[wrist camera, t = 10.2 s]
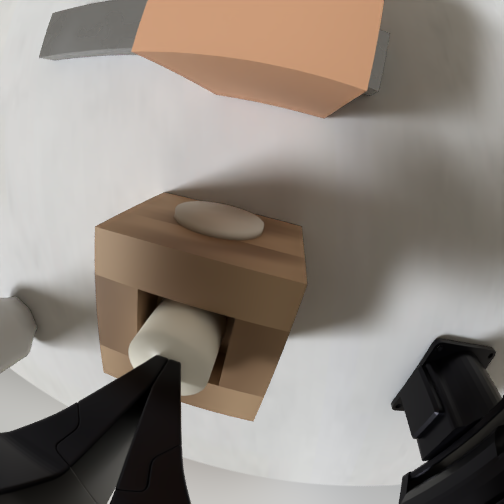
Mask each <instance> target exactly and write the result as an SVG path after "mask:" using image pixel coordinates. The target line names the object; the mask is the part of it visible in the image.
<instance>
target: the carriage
mask: <svg viewBox="0 0 504 504" xmlns="http://www.w3.org/2000/svg"><path fill="white" fill-rule="evenodd" d="M383 5H384V0H148V1H147V4H146V6H145V9H144V12H143V15H142V18H141V21H140V24H139V27H138V30H137V34H136V37H135V40H134V44H133V47H132V51H131V52H133V53H135V54H138V55H140V56H142V57H144V58H146V59H148V60H151V61H153V62H155V63H157V64H159V65H161V66H163V67H165V68H167V69H169V70H171V71H173V72H175V73H177V74H179V75H181V76H183V77H185V78H187V79H189V80H190V81H192V82H194V83H196V84H198V85H200V86H201V87H203V88H205V89H207V90H209V91H210V92H212V93H214V94H216V95H222V96H228V97H234V98H239V99H245V100H250V101H255V102H260V103H264V104H269V105H274V106H278V107H282V108H286V109H290V110H294V111H298V112H302V113H306V114H310V115H313V116H317V117H320V118H326V117H327V116H329V115H330V114H332V113H333V112H335V111H336V110H338V109H339V108H341V107H342V106H344V105H346V104H347V103H349V102H350V101H352V100H353V99H355V98H357V97H358V96H360V95H361V94H363V93H364V92H366V91H367V89H368V84H369V79H370V75H371V70H372V65H373V60H374V55H375V50H376V45H377V40H378V34H379V29H380V23H381V17H382V11H383Z"/></svg>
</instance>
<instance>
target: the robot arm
mask: <svg viewBox="0 0 504 504" xmlns="http://www.w3.org/2000/svg"><path fill="white" fill-rule="evenodd" d="M438 346H439V347H438ZM495 353H496V352H495V350H494V349H493V348H492V347H487V346H481V345H475V344H469V343H463V342H458V341H452V340H446V339H436V340H435V341H434V342H433V343H432V344H431V346H430V347H429V349H428V351H427V352H426V354H425V355H424V357H423V358H422V360H421V361H420V363H419V365H418V366H417V368H416V369H415V370H414V372H413V373H412V375H411V376H410V378H409V379H408V381H407V382H406V383H405V385H404V386H403V388H402V389H401V390H400V392H399V393H398V394H397V396H396V397H395V398H394V400H393V401H392V403H391V406H392V409H393V410H398V411H405V414H406V417H407V421H408V424H409V428H410V431H411V435H412V437H413V439H417V443H418V446H419V450H420V454H421V458H422V461H427V462H426V463H424V464H423V465H421V466H420V467H418V468H417V469H415V470H414V471H412V472H409V473H407V474H405V475H404V476H403V477H402V485H401V492H400V499H399V504H504V395H503V398H502V397H501V395H500V393H499V392H498V390H497V388H496V386H495V385H494V383H493V381H492V379H491V378H490V376H489V374H488V373H487V371H486V370H485V369H486V368H487V366H488V365H489V363H490V362H491V360H492V359H493V357H494V356H495ZM428 460H429V461H428ZM115 487H116V488H115ZM114 489H116V490H115V492H114V495H113V497H112V500H111V502H110V504H191V502H190V498H189V494H188V490H187V486H186V481H185V476H184V470H183V459H182V436H181V363H180V362H178V361H175V360H172V359H168V358H166V357H163V356H160V355H155V356H154V357H152V358H150V359H149V360H147V361H146V362H144V363H142V364H141V365H139V366H137V367H136V368H134V369H132V370H131V371H129V372H128V373H126V374H124V375H123V376H121V377H119V378H118V379H116V380H114V381H113V382H111V383H109V384H108V385H106V386H104V387H102V388H101V389H99V390H97V391H96V392H94V393H92V394H91V395H89V396H87V397H85V398H84V399H82V400H80V401H79V402H78V403H75V404H73V405H71V406H70V407H68V408H66V409H64V410H62V411H60V412H58V413H56V414H54V415H52V416H49V417H47V418H45V419H43V420H40V421H37V422H35V423H32V424H30V425H27V426H24V427H22V428H19V429H16V430H13V431H10V432H4V433H0V504H107V502H108V500H109V498H110V496H111V495H112V493H113V491H114Z"/></svg>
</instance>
